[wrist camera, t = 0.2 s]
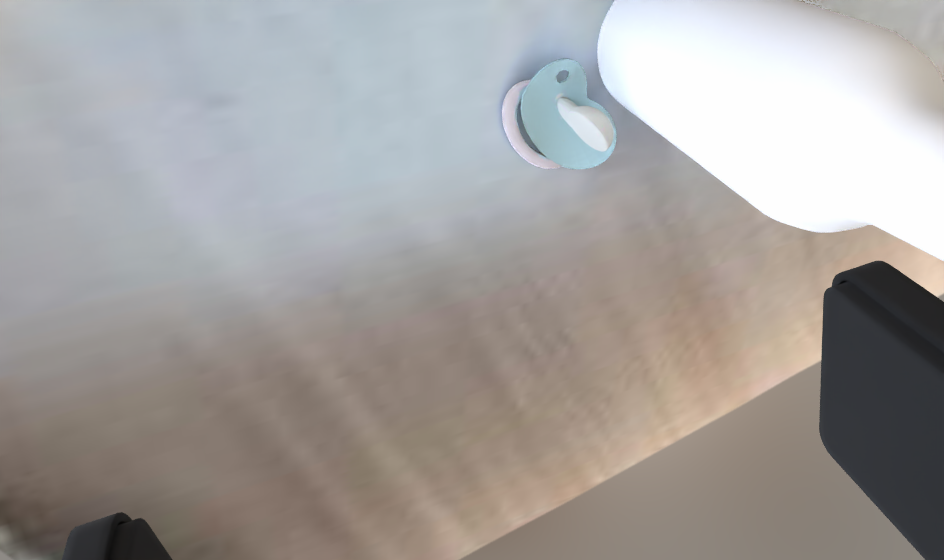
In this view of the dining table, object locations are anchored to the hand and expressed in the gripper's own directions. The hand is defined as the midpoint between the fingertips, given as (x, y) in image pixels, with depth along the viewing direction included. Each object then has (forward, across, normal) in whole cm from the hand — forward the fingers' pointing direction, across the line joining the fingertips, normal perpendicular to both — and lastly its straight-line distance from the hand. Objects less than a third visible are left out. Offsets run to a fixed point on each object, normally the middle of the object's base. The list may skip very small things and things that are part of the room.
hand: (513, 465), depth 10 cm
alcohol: (+37, -19, +8) cm, 42 cm away
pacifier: (+37, -11, +11) cm, 40 cm away
